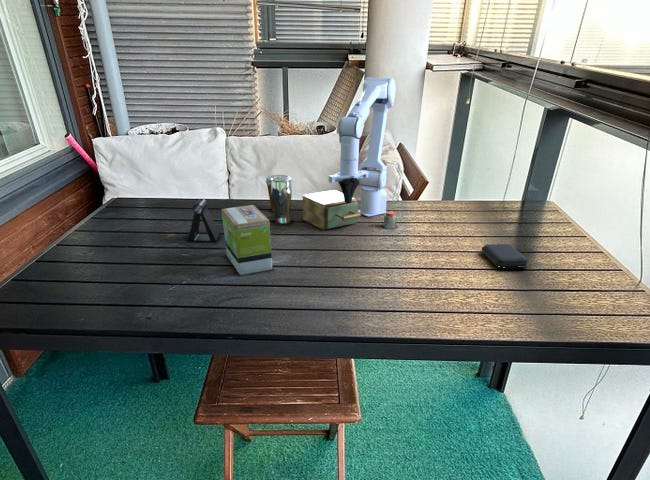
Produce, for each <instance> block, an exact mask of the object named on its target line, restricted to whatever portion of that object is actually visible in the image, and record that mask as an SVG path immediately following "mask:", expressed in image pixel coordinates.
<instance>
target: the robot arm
mask: <svg viewBox="0 0 650 480" xmlns="http://www.w3.org/2000/svg"><path fill="white" fill-rule="evenodd" d="M396 90H397V89H396V81H395V79H394V77H390V78H388V77H387V78H386V77H384V78H383V77H369V76H366V77H365V79H364V81H363V83H362V95H361V97H360V99H359V100H358V101H355V103H353V105H352V107H351V108H350V110H349V111H348V113H347V114H346V116H342V118H340V119H339V121H338V125H337V134H338V141H339V144H340V158H339V159H340V160H339V161H340V163H339V172H337V173H334V174H329V175H328V183H330V184H335V183H338V184H339V187H340V189H341V191H342V192H341V193H343V196H344V201H345V202H346V203H351V201H352V198H354V195H355V192H356V190H357V188H358V187H359V190H360V203H359V204H360V205H359V206H360V207H359V208H358V213H360V214H361V216H362V215H363V216H365V217H367V218H368V217H373V216H378V215H383V214H386V212H388V211H387V203H388V202H387V200H388V193H387V190H386V188H385V187H386V184H387V175H388V174H387V171H388V169H387V166H386V164H384V162H383V161H382V160H381V159H382V152H383V147H384V139H385V131H386V125H387V124H386V123H387V117H388V113H389V109H391V108H393V106H394V103H395V96H396ZM370 108H372V111H373V113H372V119H371V128H370V133H369V134H370V135H369V142H368V149H367V156H366V159H365V160H364V161H362V162H361V163H360V164H359V157H360V156H359V155H360V138H361V137H362V135H363V131H364V128H365V122H366V121H367V119H368V117H369V116H370V113H371V110H370Z"/></svg>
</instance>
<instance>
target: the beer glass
mask: <svg viewBox="0 0 650 480" xmlns="http://www.w3.org/2000/svg"><path fill="white" fill-rule="evenodd" d="M292 191H293V190H292V178H291V176H289V177H285V176H278V177H273V178H272V182H271V192H272V200H273V204H274V209H275V212H274V219H273V223H274V224H276V225H279V226H282V225H283V226H284V225H290V224H291V223H292V218H291V204H292V195H293V194H292Z"/></svg>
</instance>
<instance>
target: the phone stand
mask: <svg viewBox="0 0 650 480" xmlns="http://www.w3.org/2000/svg"><path fill="white" fill-rule="evenodd" d="M192 211H193V217H192V222H191V225H190V231H189V236H188V240H187V241H188V242H196V243H197V242H198V243H200V242H203V243H204V242H205V243H211V242H212V243H216V242H217V240H218V238H219V237H220V232H219V229H218V228H217V226H216V224H215V221H214V220H213V217H212V214H211V213H210V211H209V208H208V203H207V200H206V199H204V198H202V200H201V198H199V199H198V200H197V201H196V202H195V203H194V205H193V206H192ZM201 220H202V223H203V225H204V228H205V231H206V232H207V233H199V231H200V223H201Z"/></svg>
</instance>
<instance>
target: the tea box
mask: <svg viewBox="0 0 650 480" xmlns="http://www.w3.org/2000/svg"><path fill="white" fill-rule="evenodd" d="M221 219H222V226H223V233H224V234H223V235H224V242H225V251H226V256H227V258H228V259H229V261H230V263H231V264H232V265H233V267H234V269H236V271H237V273H238V274H239V275H240V276H243V275H249V274H255V273H261V272H267V271H271V270H273V256H272V239H271V224H270V219H268V218H267V216H266V215H265V214H264V213H262V211H260V210H259V209H258V208H257V207H256V206H255V205H254V204H249V205H242V206H241V205H240V206H235V207H227V208H221Z"/></svg>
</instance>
